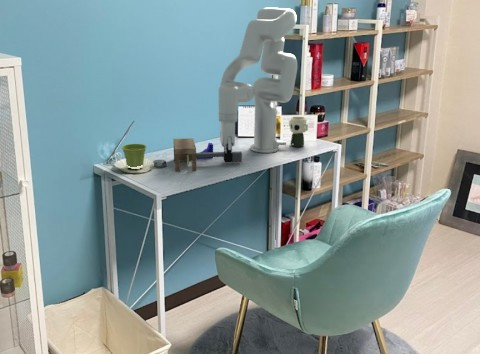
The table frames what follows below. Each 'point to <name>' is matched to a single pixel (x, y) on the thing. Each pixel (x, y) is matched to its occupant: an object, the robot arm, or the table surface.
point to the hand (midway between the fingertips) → (227, 160)
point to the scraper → (235, 156)
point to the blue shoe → (207, 150)
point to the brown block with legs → (184, 152)
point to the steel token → (159, 163)
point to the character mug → (298, 130)
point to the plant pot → (134, 154)
